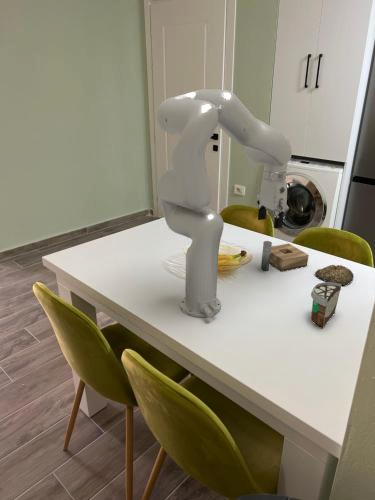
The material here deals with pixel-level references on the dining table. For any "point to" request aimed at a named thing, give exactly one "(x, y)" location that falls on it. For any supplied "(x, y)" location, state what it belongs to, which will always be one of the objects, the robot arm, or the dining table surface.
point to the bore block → (287, 257)
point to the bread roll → (335, 274)
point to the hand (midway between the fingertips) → (269, 223)
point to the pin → (266, 255)
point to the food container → (324, 302)
